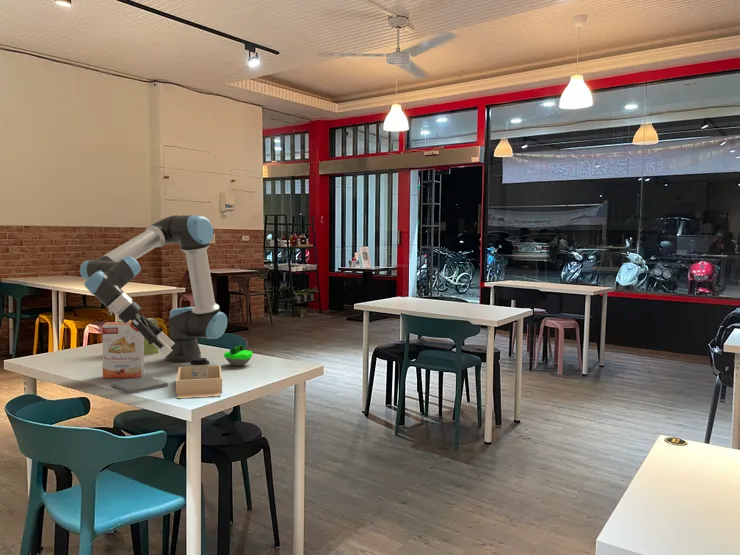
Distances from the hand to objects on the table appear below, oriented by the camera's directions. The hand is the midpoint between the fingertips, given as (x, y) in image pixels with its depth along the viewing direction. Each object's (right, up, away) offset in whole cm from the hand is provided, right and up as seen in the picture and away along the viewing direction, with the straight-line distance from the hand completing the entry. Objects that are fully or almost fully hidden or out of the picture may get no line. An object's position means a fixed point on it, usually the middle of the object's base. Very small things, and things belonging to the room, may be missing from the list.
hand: (170, 349), depth 198 cm
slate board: (-12, -13, +2) cm, 18 cm away
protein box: (-37, -10, +60) cm, 71 cm away
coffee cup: (+9, -14, +4) cm, 17 cm away
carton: (+9, -14, +4) cm, 17 cm away
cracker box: (-24, -13, +16) cm, 31 cm away
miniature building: (+15, -12, +39) cm, 44 cm away
